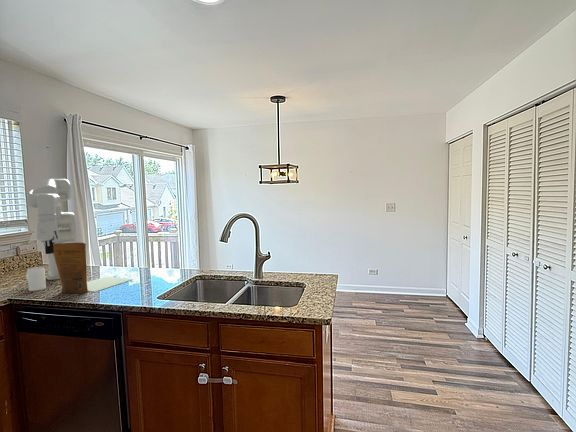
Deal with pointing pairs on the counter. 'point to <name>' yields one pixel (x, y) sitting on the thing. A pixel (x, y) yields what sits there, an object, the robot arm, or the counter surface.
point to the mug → (36, 278)
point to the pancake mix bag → (71, 266)
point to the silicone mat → (105, 283)
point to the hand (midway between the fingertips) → (49, 253)
